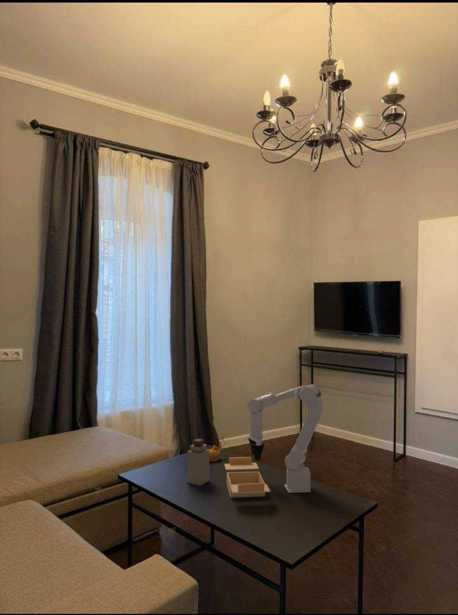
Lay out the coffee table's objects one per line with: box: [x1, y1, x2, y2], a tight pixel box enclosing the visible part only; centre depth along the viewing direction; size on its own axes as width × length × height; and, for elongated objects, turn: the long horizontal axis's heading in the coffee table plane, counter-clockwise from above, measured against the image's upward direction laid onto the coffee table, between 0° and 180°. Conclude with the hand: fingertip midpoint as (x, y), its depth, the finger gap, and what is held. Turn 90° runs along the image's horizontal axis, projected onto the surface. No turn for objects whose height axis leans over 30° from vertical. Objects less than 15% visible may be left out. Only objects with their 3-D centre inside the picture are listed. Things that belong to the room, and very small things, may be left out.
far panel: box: [224, 456, 260, 471], centre depth 194 cm, size 14×7×3 cm, turn 96°
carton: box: [226, 471, 266, 499], centre depth 181 cm, size 14×14×5 cm
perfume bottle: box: [186, 438, 210, 487], centre depth 190 cm, size 7×7×18 cm
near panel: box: [230, 482, 271, 493], centre depth 169 cm, size 14×7×3 cm, turn 96°
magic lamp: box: [208, 435, 226, 462], centre depth 219 cm, size 7×18×11 cm, turn 125°
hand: (255, 457), depth 191 cm, fingers open, 7 cm apart
